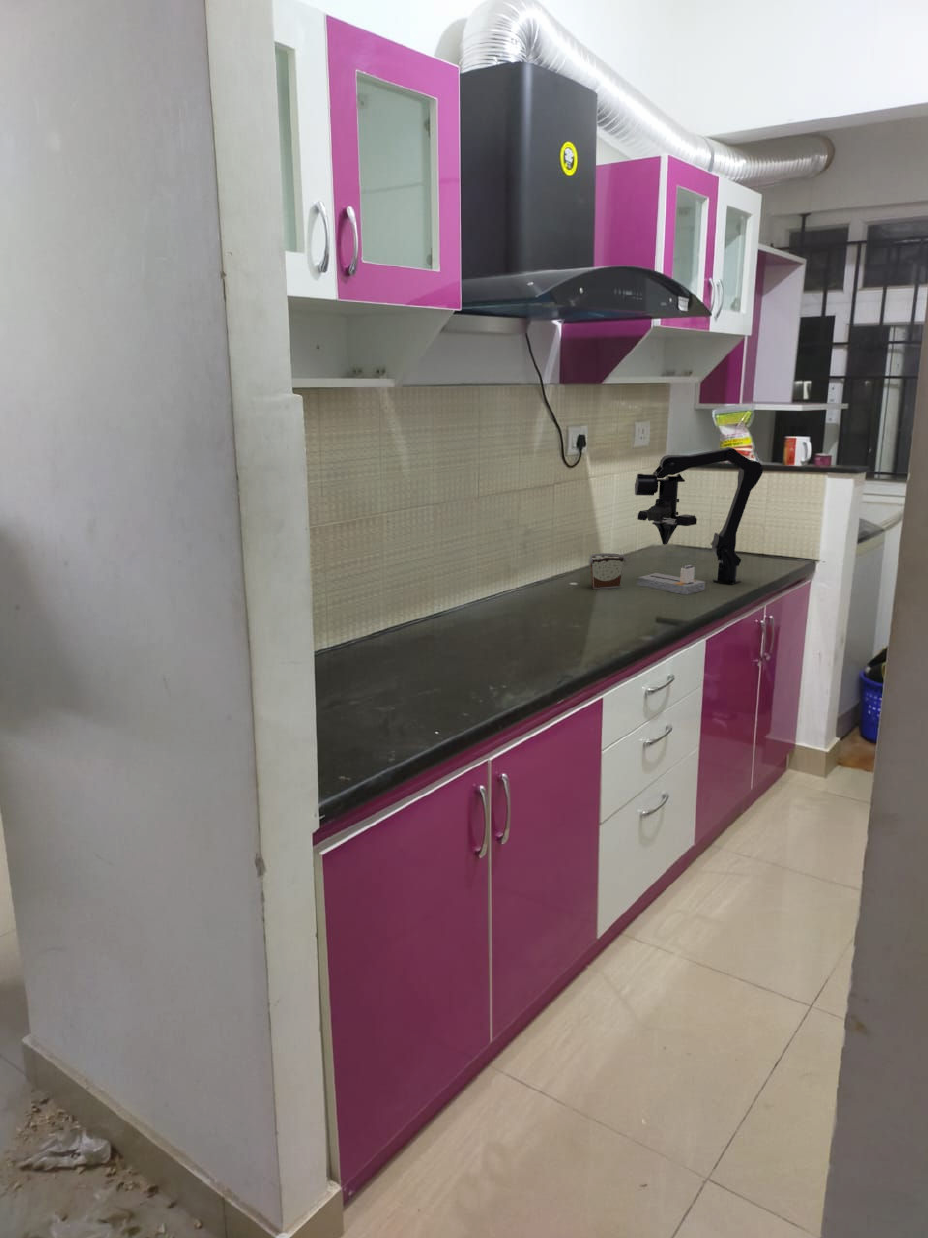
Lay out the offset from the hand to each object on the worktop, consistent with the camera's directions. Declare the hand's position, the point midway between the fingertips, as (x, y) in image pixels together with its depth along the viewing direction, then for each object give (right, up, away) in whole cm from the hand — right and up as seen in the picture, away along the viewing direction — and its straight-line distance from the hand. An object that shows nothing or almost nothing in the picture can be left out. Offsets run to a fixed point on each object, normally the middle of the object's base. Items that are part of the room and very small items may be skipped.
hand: (664, 544), depth 294 cm
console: (+1, -14, -6) cm, 15 cm away
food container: (-21, -14, -4) cm, 25 cm away
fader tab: (+5, -12, -10) cm, 17 cm away
